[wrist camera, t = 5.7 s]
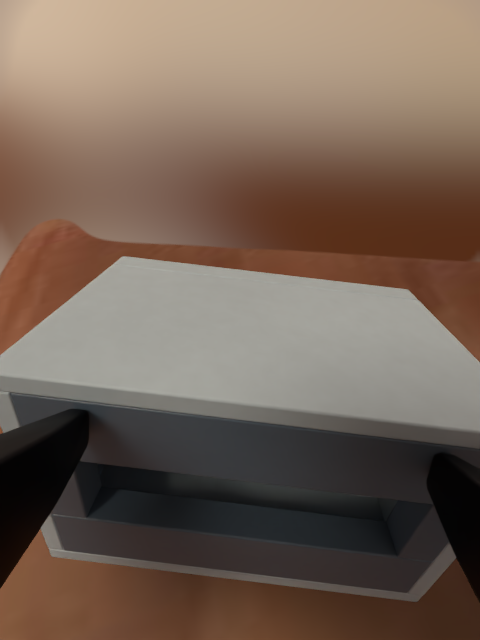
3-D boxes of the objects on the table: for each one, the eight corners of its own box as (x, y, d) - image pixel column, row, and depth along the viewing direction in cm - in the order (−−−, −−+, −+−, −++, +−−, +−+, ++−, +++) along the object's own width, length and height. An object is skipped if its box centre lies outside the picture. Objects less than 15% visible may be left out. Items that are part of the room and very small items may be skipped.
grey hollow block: (417, 603, 12) (559, 441, 8) (50, 557, 12) (-23, 371, 8) (356, 420, 20) (408, 289, 15) (134, 394, 20) (122, 255, 15)
